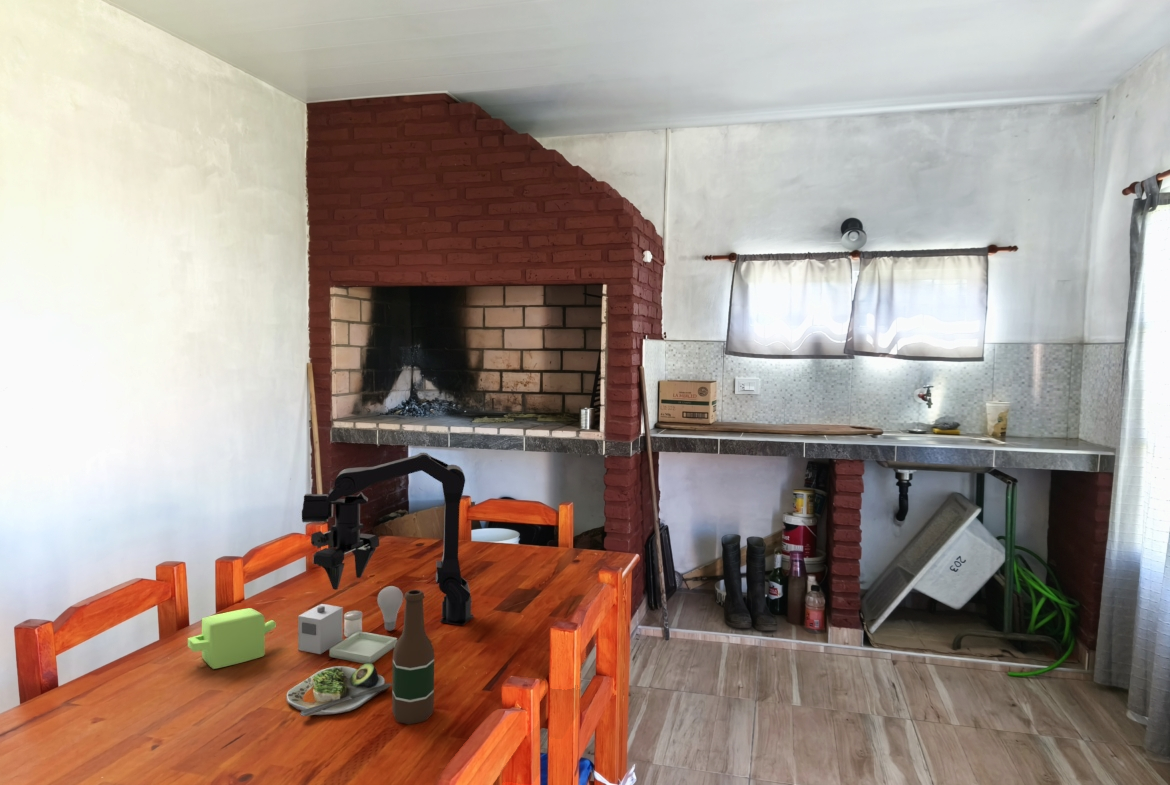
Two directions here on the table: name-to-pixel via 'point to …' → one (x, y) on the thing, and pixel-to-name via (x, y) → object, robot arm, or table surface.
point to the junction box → (320, 628)
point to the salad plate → (337, 690)
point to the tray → (363, 647)
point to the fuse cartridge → (352, 622)
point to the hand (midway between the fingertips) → (347, 583)
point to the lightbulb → (390, 605)
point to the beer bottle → (413, 666)
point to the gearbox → (232, 637)
